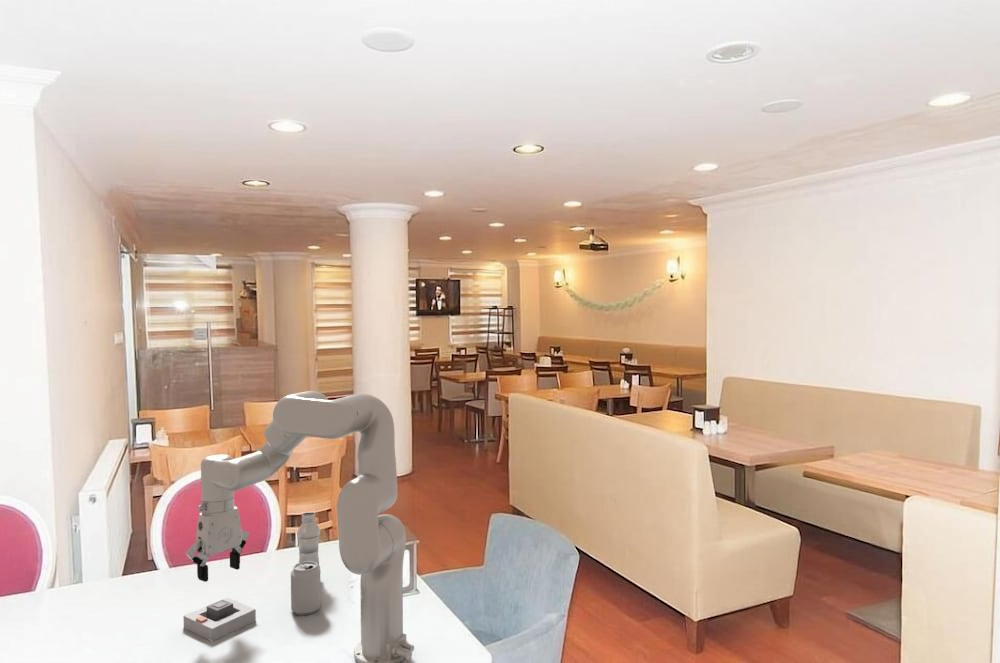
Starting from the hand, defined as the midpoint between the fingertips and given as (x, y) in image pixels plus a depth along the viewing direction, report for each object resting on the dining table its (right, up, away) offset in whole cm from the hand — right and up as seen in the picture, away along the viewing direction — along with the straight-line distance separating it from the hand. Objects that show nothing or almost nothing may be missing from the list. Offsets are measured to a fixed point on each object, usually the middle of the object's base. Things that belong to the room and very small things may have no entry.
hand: (219, 573), depth 160 cm
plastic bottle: (+15, -12, +25) cm, 32 cm away
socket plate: (0, -13, 0) cm, 13 cm away
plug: (0, -13, 0) cm, 13 cm away
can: (+19, -13, +8) cm, 25 cm away
